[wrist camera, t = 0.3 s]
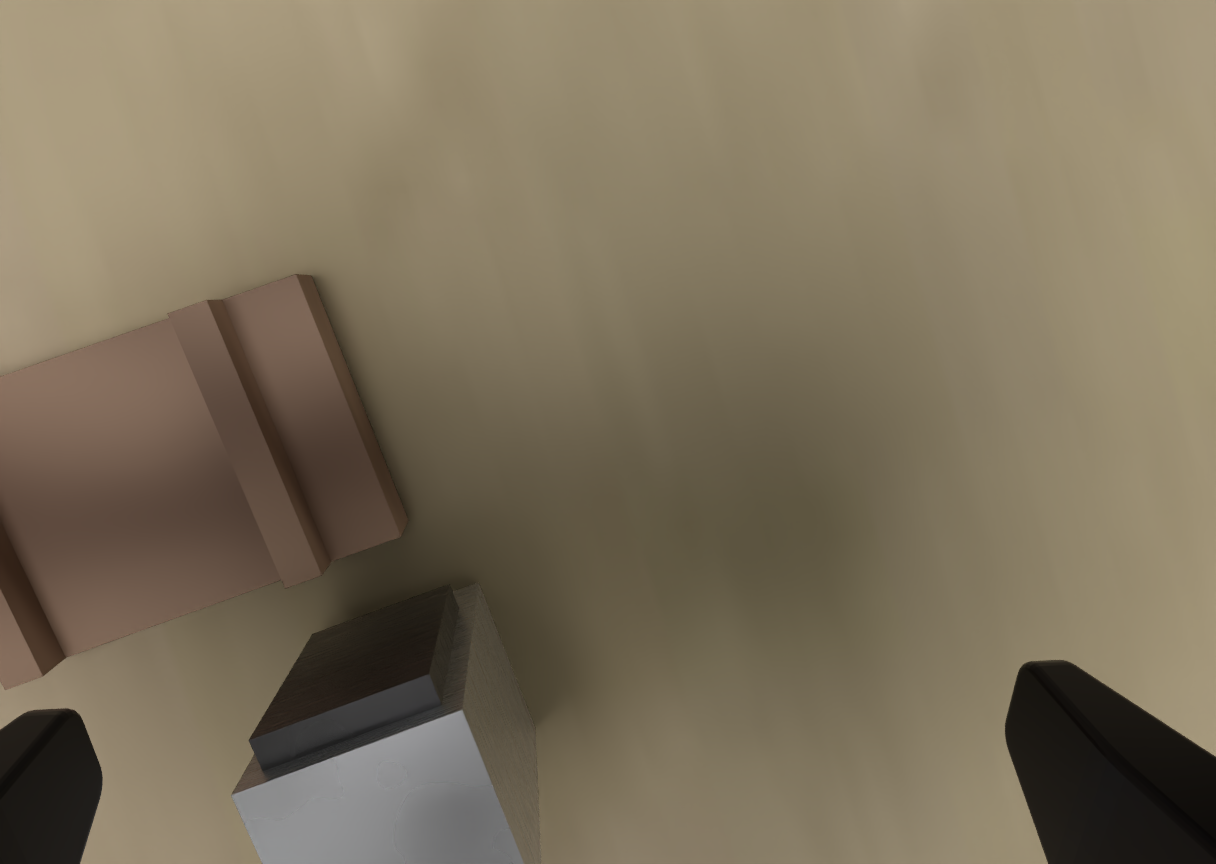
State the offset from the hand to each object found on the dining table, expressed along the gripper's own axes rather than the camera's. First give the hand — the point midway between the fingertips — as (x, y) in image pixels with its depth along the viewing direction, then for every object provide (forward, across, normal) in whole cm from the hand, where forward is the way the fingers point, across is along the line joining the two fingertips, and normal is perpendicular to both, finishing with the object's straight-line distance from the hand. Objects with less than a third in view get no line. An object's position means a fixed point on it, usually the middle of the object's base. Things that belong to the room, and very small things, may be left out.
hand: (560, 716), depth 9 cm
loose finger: (+11, +4, +9) cm, 15 cm away
